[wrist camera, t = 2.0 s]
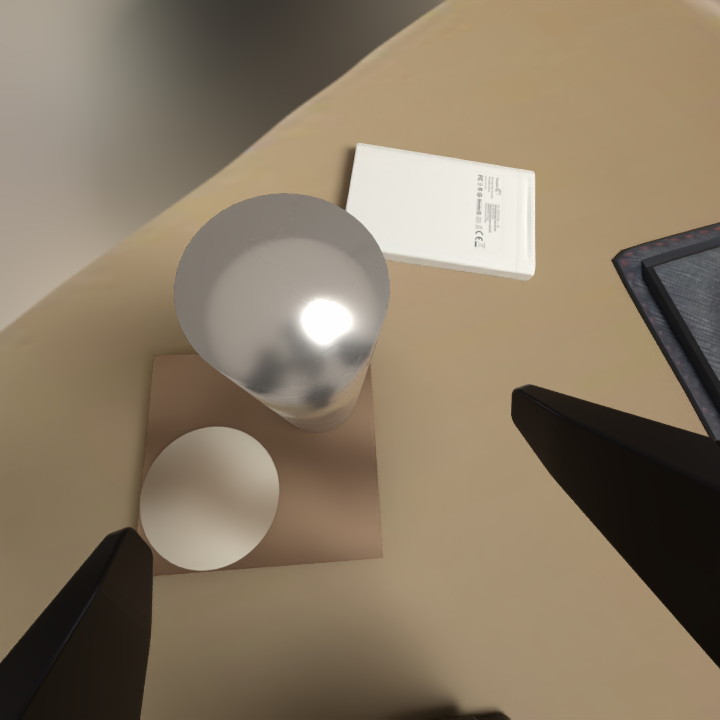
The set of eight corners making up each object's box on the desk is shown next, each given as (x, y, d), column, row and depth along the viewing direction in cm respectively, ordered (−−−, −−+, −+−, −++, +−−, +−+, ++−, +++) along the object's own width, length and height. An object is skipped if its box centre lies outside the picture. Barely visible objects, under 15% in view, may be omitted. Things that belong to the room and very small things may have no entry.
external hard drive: (355, 158, 26) (524, 184, 26) (339, 258, 24) (523, 285, 24) (357, 139, 24) (536, 167, 25) (339, 243, 22) (536, 273, 22)
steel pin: (359, 430, 20) (398, 382, 7) (277, 435, 19) (165, 393, 7) (355, 353, 21) (382, 192, 8) (277, 355, 20) (181, 193, 8)
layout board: (380, 553, 19) (383, 559, 18) (141, 572, 18) (130, 578, 17) (368, 351, 22) (369, 346, 21) (160, 359, 21) (152, 354, 20)
